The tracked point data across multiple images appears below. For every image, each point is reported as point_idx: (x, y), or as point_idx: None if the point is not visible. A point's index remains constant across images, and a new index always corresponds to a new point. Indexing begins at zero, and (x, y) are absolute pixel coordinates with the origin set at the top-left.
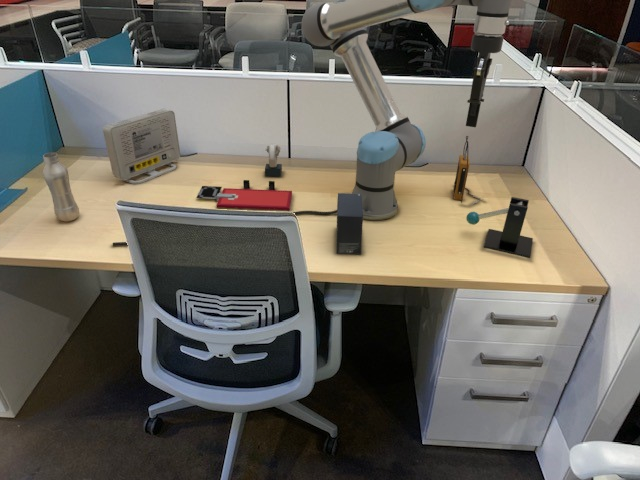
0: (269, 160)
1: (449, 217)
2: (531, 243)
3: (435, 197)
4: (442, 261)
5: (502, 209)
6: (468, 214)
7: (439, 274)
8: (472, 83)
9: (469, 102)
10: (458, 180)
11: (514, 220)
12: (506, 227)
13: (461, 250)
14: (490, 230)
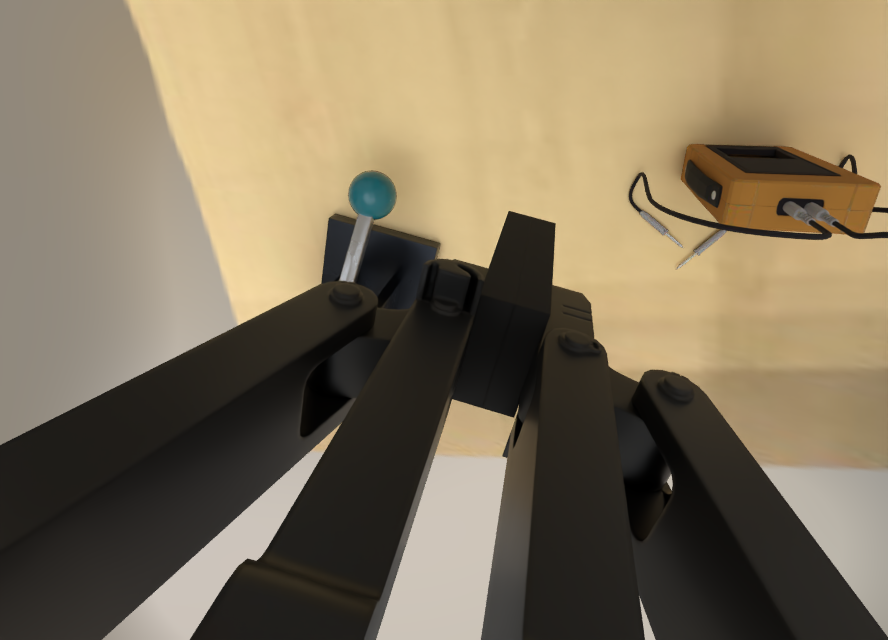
0: None
1: (527, 116)
2: None
3: (714, 56)
4: (232, 80)
5: None
6: (364, 179)
7: (165, 69)
8: (59, 420)
9: (431, 285)
10: (707, 164)
11: None
12: None
13: (312, 146)
14: (425, 251)
